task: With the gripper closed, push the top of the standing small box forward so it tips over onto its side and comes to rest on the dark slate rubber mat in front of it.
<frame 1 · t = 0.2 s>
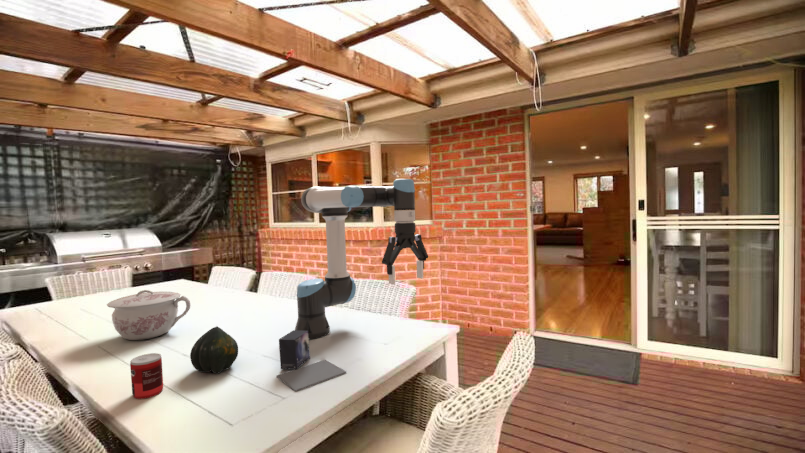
hand: (406, 280, 135), 28 cm above the table, fingers open, 13 cm apart
canned food: (148, 393, 113), on the table
chamber pot: (148, 335, 168), on the table
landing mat: (311, 374, 123), on the table
small box: (296, 364, 131), on the table, touching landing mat
squash: (215, 369, 130), on the table
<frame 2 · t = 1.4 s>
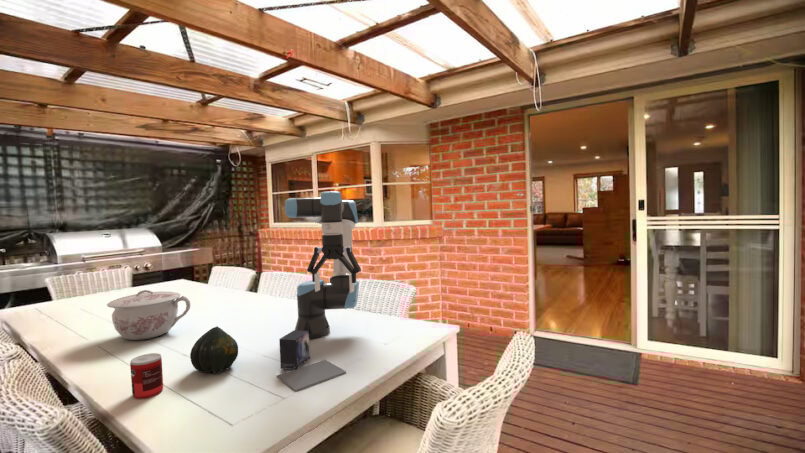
hand: (334, 291, 137), 24 cm above the table, fingers open, 13 cm apart
nothing on the table moved.
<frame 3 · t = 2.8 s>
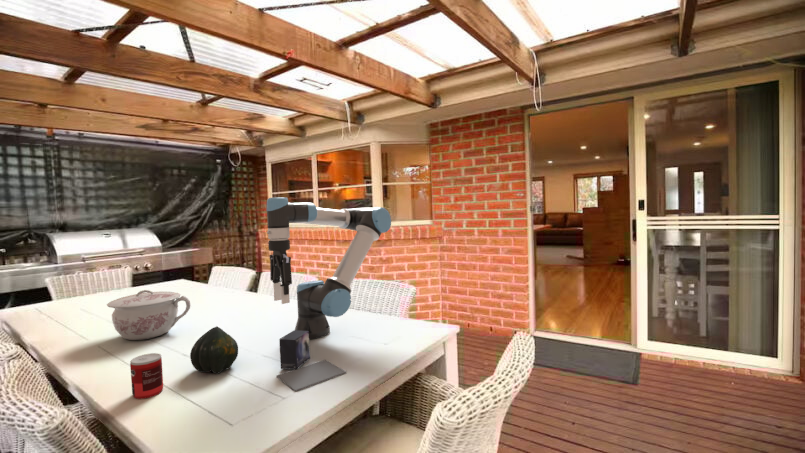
hand: (281, 301, 138), 21 cm above the table, fingers open, 6 cm apart
nothing on the table moved.
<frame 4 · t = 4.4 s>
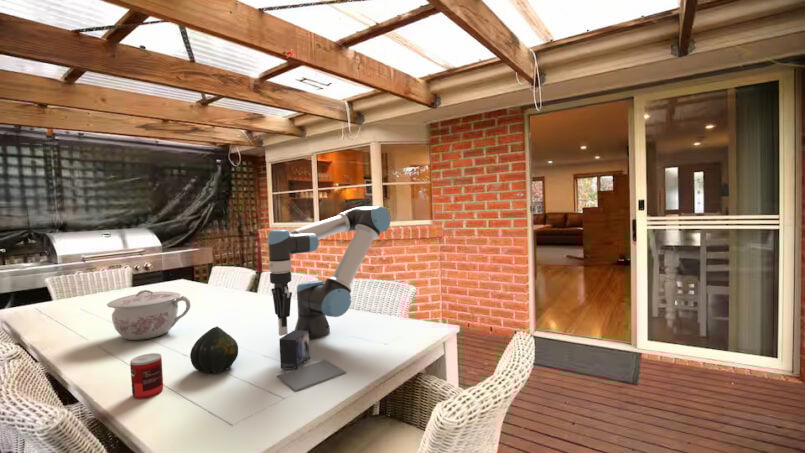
hand: (283, 334, 138), 8 cm above the table, fingers closed
nothing on the table moved.
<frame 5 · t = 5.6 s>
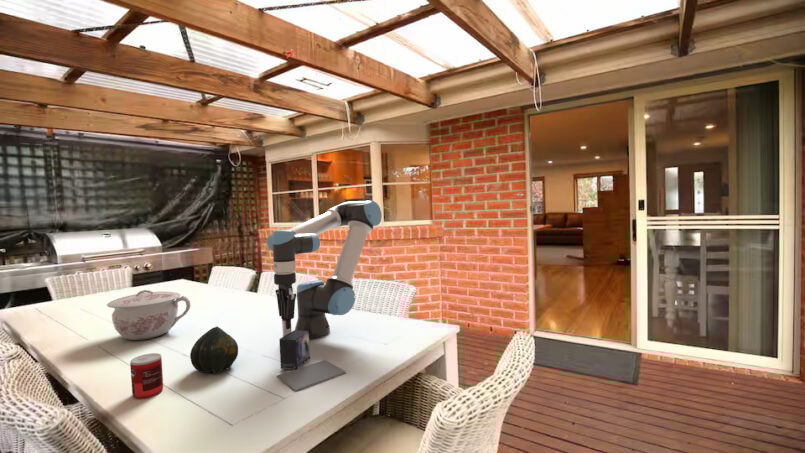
hand: (287, 336, 135), 9 cm above the table, fingers closed
small box: (296, 364, 131), on the table, touching gripper, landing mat
everything else where it was.
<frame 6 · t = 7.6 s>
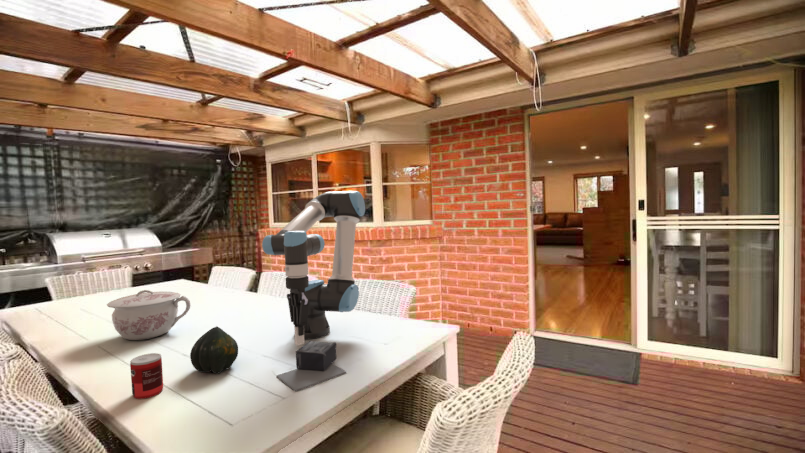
hand: (299, 343, 128), 8 cm above the table, fingers closed
small box: (302, 354, 131), point 4 cm above the table, touching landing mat
everything else where it was.
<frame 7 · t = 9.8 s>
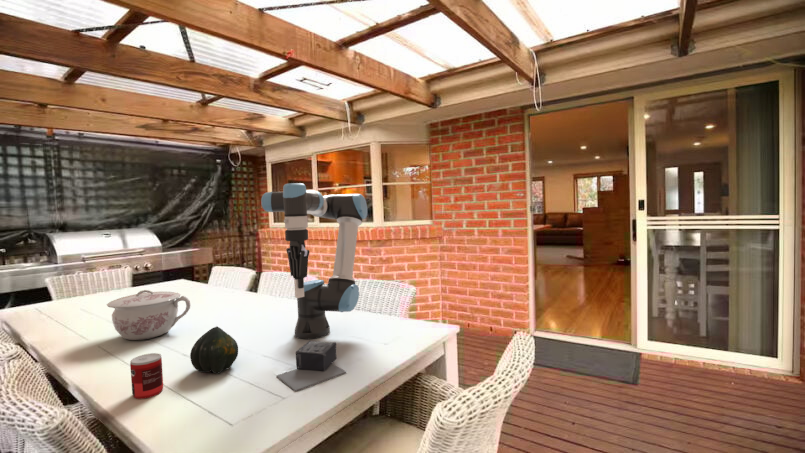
hand: (299, 297, 128), 25 cm above the table, fingers closed
nothing on the table moved.
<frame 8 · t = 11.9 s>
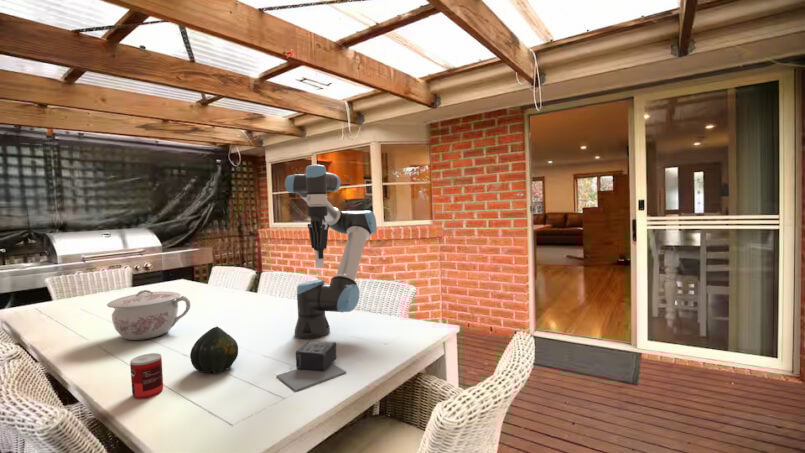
hand: (319, 266, 143), 32 cm above the table, fingers closed
nothing on the table moved.
at the end: small box tilted 90°; small box inside the target area (4.3 cm from its centre), point 3.7 cm above the table; small box touching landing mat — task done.
